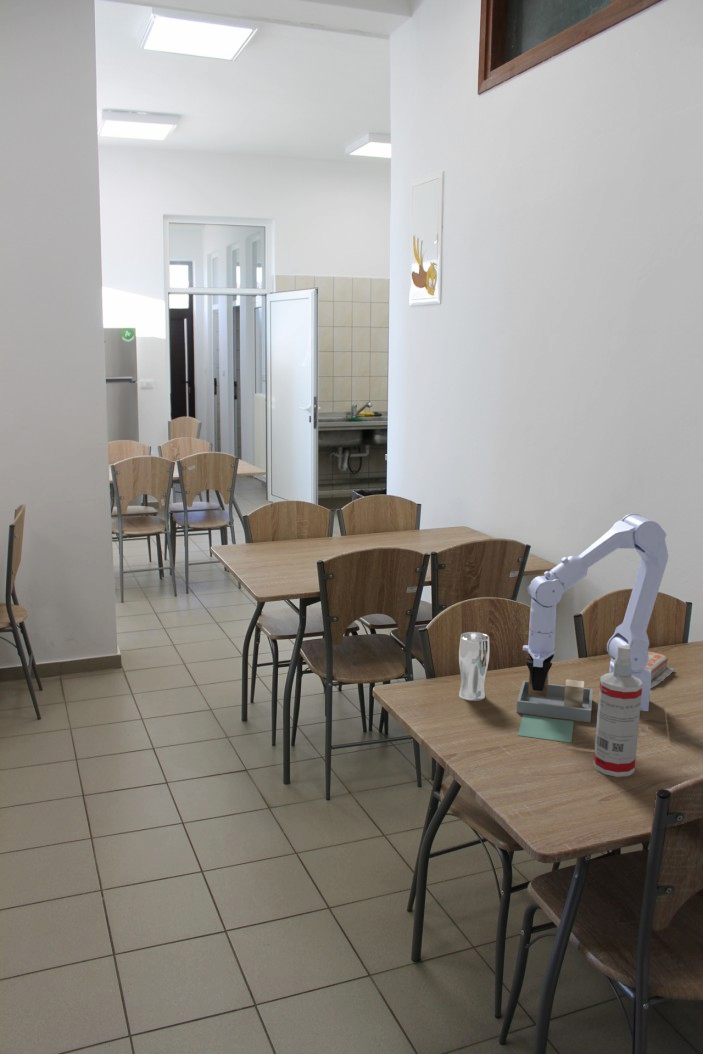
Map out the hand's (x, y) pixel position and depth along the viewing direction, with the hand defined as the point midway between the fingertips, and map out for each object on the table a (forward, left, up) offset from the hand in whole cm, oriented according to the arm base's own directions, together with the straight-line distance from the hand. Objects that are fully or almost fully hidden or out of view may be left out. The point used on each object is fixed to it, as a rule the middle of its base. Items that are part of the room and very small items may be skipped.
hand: (538, 686), depth 203 cm
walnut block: (0, 0, -2) cm, 2 cm away
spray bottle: (-17, +26, -5) cm, 31 cm away
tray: (-4, 0, -5) cm, 6 cm away
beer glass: (+15, 0, -5) cm, 16 cm away
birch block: (-8, 0, -4) cm, 9 cm away
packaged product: (-24, -28, -5) cm, 37 cm away
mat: (-3, +13, -5) cm, 14 cm away
